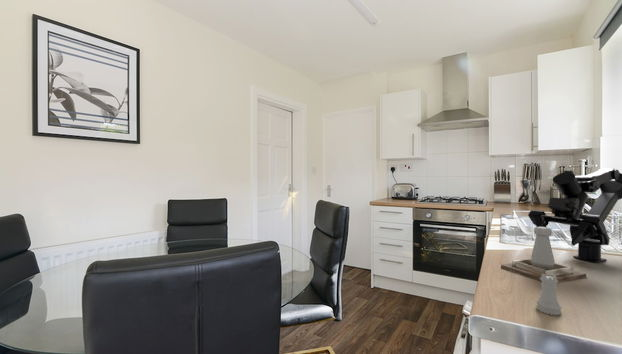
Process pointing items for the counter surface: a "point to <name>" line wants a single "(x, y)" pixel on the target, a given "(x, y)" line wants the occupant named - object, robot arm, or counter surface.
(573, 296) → the counter surface
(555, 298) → the rook chess piece
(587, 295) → the counter surface
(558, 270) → the collar board
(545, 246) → the salt shaker
